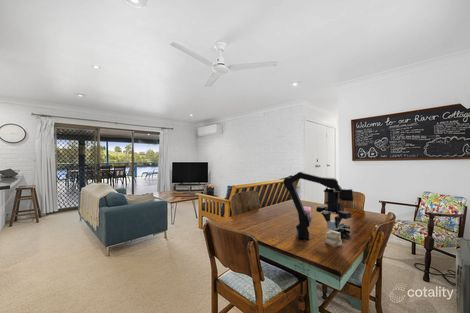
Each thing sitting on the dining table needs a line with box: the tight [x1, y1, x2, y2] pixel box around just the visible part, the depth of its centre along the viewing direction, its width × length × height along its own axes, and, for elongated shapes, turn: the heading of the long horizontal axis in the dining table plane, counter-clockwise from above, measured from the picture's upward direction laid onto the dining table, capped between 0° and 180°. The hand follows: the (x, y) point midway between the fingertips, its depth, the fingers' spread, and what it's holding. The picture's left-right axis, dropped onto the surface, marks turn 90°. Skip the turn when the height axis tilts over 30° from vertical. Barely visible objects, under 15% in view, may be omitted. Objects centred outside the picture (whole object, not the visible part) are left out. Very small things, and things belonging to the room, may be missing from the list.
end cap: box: [333, 222, 351, 240], centre depth 128 cm, size 10×7×7 cm
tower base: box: [324, 236, 343, 248], centre depth 116 cm, size 6×6×4 cm
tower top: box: [325, 229, 342, 241], centre depth 116 cm, size 6×6×4 cm
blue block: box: [326, 219, 339, 231], centre depth 116 cm, size 4×4×4 cm
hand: (333, 226), depth 116 cm, fingers closed on blue block, 4 cm apart
